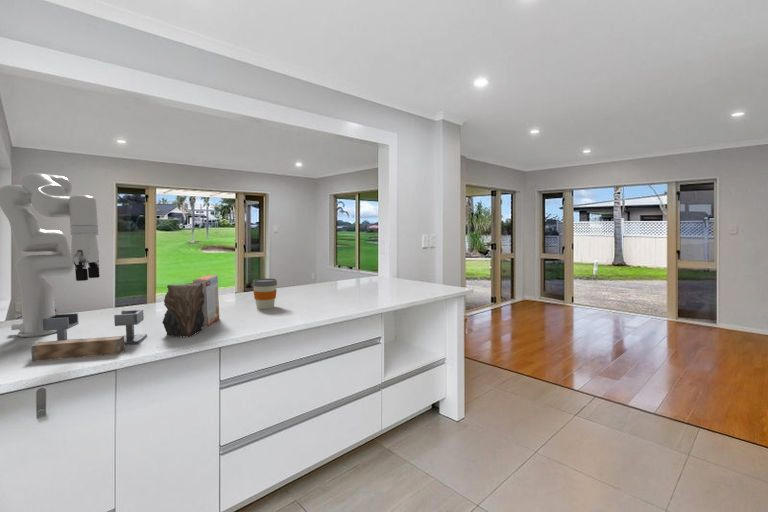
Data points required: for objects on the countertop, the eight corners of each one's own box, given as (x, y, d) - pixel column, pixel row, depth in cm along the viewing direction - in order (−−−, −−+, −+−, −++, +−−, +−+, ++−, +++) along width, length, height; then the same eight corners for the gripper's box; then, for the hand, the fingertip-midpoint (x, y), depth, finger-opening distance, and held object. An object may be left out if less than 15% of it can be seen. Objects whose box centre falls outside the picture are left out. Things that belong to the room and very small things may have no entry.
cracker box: (206, 319, 171) (205, 275, 170) (219, 318, 172) (218, 275, 170) (193, 327, 157) (192, 279, 156) (208, 326, 158) (206, 279, 156)
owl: (161, 335, 145) (159, 285, 143) (185, 327, 157) (183, 281, 155) (188, 337, 142) (186, 287, 140) (210, 329, 154) (209, 282, 153)
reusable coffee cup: (273, 309, 191) (272, 281, 190) (249, 309, 192) (248, 281, 190) (280, 304, 204) (279, 278, 203) (258, 304, 204) (257, 278, 203)
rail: (32, 361, 116) (31, 345, 116) (39, 357, 120) (38, 342, 120) (120, 353, 123) (119, 339, 123) (124, 349, 127) (123, 335, 127)
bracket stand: (40, 351, 125) (38, 320, 124) (56, 343, 134) (54, 313, 133) (138, 343, 134) (137, 314, 133) (146, 336, 143) (145, 308, 142)
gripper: (82, 231, 135) (86, 277, 136) (59, 230, 119) (63, 282, 120) (106, 231, 138) (110, 276, 139) (86, 230, 121) (90, 281, 122)
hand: (88, 279), depth 129 cm, fingers open, 9 cm apart
